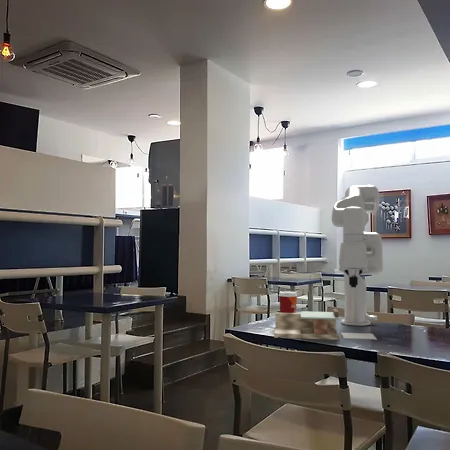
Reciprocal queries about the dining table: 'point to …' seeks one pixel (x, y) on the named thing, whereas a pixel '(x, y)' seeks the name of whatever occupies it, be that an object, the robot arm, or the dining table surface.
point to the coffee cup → (288, 302)
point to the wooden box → (301, 327)
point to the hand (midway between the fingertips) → (353, 287)
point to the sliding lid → (320, 315)
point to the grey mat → (358, 336)
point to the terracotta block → (320, 326)
